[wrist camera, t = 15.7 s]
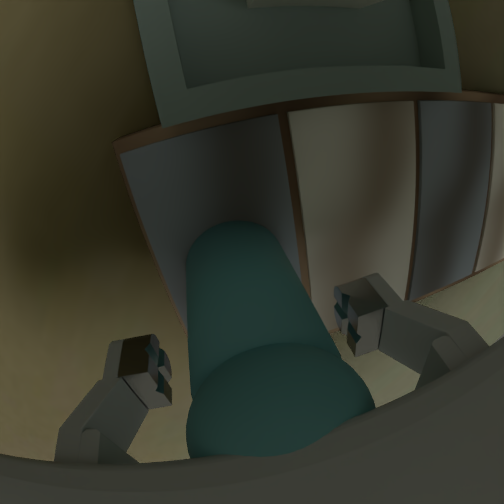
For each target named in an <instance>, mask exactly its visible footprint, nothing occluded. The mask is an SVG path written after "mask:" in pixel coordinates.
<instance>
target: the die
mask: <svg viewBox="0 0 504 504" xmlns="http://www.w3.org/2000/svg"><path fill="white" fill-rule="evenodd" d="M381 1H384V0H246V2H247V7H248V9H250V8H262V7H280V6H328V7H345V8H357V9H360V8H363V7H366V6H369V5H372V4H374V3H378V2H381Z"/></svg>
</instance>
